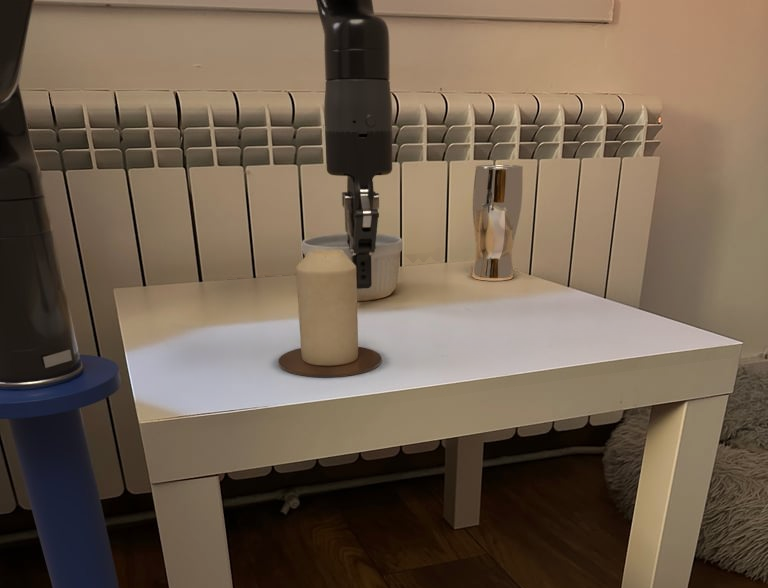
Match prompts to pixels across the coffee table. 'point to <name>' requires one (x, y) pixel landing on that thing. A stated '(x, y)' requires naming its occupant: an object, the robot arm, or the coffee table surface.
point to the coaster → (362, 364)
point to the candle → (327, 308)
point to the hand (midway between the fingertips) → (362, 287)
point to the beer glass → (496, 219)
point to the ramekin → (381, 261)
